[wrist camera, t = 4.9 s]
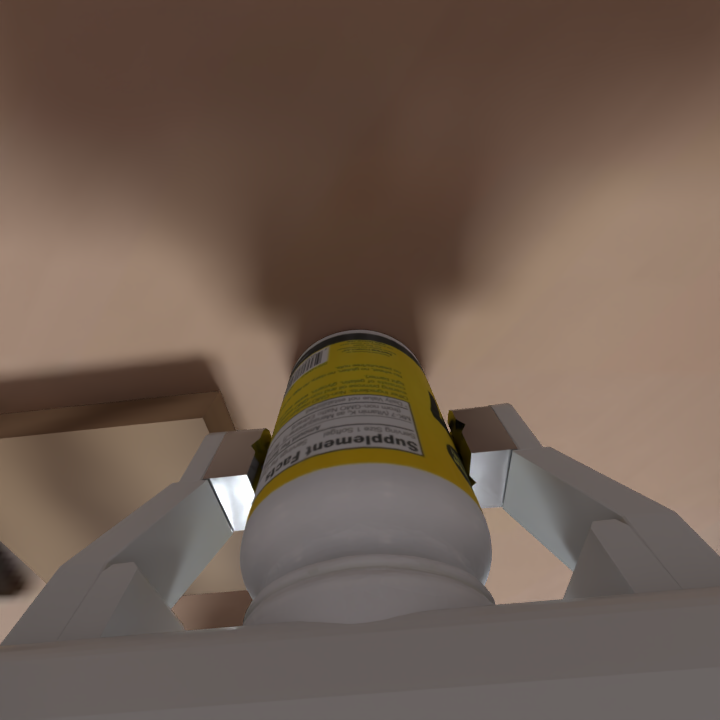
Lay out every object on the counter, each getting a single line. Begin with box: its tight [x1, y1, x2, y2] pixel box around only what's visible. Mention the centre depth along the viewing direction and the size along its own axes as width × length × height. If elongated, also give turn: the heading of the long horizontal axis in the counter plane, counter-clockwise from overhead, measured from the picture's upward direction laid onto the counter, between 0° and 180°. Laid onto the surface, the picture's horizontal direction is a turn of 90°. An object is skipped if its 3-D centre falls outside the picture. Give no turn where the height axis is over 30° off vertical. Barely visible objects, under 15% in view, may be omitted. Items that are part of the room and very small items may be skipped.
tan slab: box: [0, 391, 247, 596], centre depth 13 cm, size 10×10×2 cm
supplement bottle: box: [240, 330, 495, 626], centre depth 8 cm, size 5×5×8 cm
